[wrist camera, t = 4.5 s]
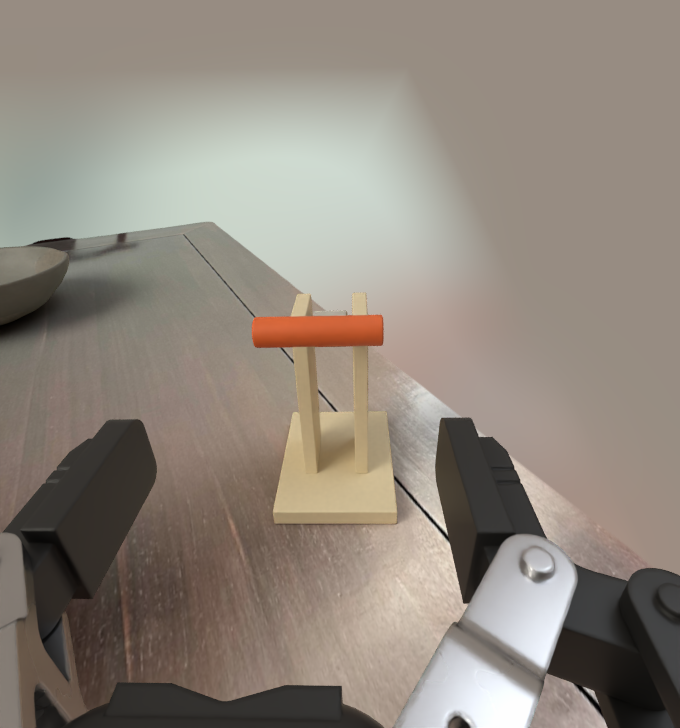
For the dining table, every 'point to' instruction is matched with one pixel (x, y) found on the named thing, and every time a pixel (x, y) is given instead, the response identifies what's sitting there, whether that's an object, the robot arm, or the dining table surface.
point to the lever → (318, 330)
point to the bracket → (335, 449)
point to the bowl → (28, 279)
